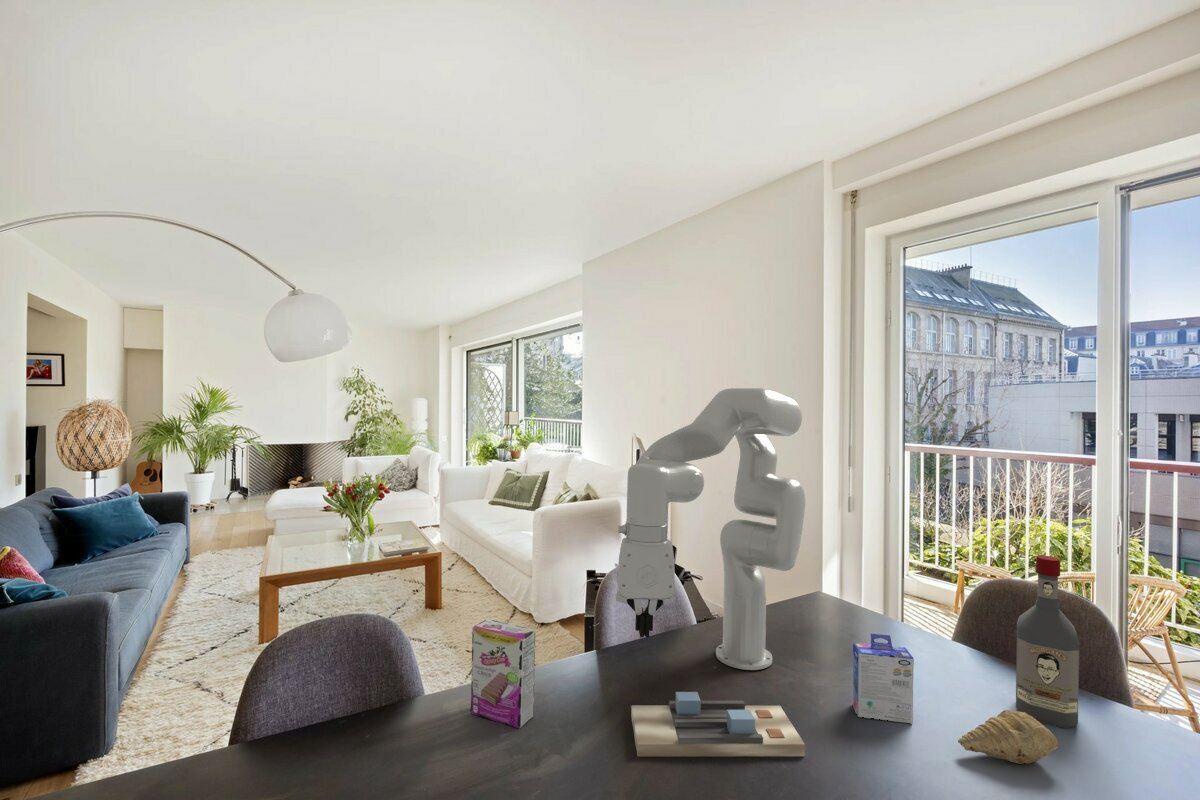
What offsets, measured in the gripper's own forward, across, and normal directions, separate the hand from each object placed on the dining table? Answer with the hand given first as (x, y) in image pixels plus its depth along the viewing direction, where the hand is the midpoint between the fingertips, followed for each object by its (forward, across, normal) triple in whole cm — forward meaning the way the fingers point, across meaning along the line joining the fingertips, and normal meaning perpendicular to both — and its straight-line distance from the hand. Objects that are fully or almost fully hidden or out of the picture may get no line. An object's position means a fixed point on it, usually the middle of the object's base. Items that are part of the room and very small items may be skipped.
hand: (643, 634), depth 103 cm
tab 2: (+14, +16, -6) cm, 22 cm away
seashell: (+16, +60, -10) cm, 62 cm away
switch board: (+16, +12, -2) cm, 21 cm away
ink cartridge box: (+16, +46, +4) cm, 49 cm away
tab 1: (+14, +8, 0) cm, 17 cm away
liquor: (+16, +78, +4) cm, 80 cm away
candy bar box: (+17, -26, +4) cm, 31 cm away
